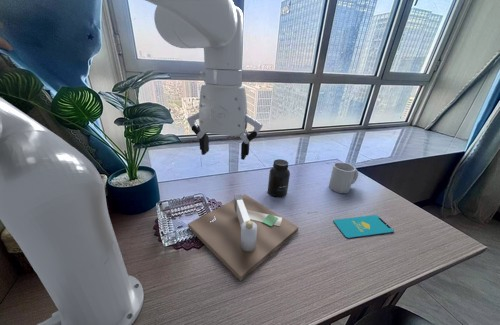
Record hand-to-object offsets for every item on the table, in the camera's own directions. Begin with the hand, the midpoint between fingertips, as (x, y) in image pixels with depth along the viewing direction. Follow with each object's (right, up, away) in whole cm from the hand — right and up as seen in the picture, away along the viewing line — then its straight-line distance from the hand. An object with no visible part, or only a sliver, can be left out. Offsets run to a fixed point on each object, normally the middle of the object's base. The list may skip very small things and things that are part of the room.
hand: (224, 155), depth 51 cm
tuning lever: (+4, -19, +4) cm, 20 cm away
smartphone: (+38, -21, +10) cm, 44 cm away
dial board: (+4, -20, +6) cm, 22 cm away
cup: (+40, -11, +28) cm, 51 cm away
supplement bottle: (+16, -13, +23) cm, 31 cm away
